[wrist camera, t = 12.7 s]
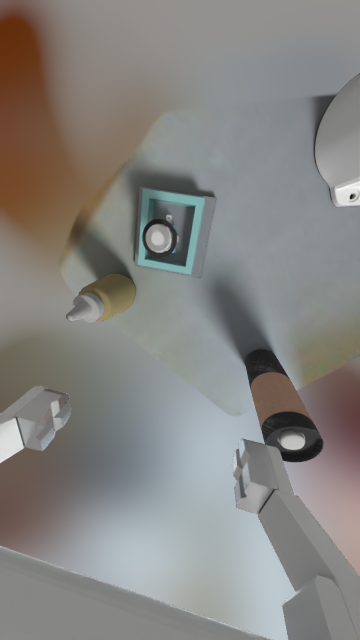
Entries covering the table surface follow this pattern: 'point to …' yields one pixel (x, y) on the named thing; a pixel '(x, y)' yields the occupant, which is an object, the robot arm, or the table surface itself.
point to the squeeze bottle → (103, 299)
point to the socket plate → (176, 229)
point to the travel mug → (281, 409)
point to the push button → (160, 237)
